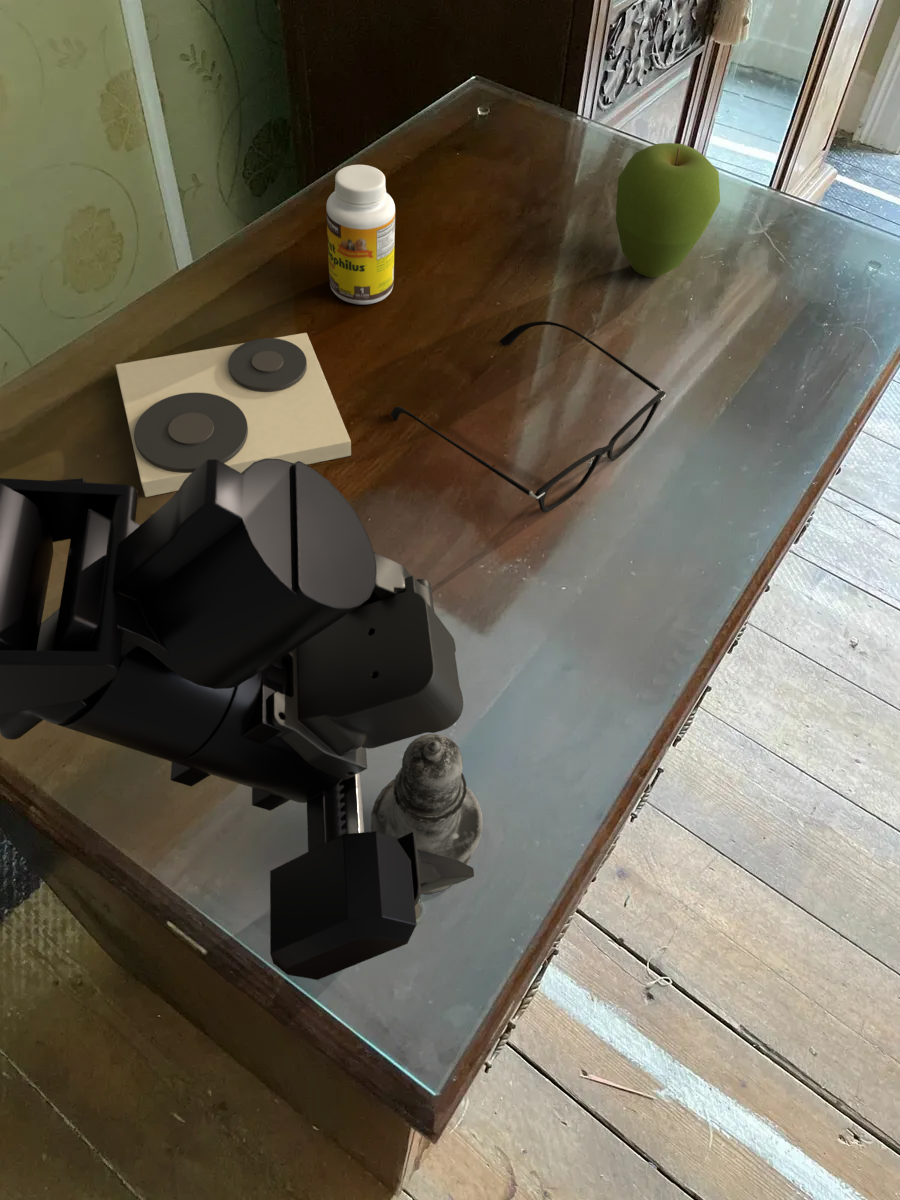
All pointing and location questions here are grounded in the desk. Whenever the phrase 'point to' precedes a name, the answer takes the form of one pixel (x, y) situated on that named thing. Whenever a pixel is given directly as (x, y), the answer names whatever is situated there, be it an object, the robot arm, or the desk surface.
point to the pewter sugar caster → (431, 801)
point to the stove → (229, 409)
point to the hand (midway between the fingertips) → (456, 791)
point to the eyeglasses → (596, 453)
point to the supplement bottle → (361, 236)
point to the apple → (664, 205)
